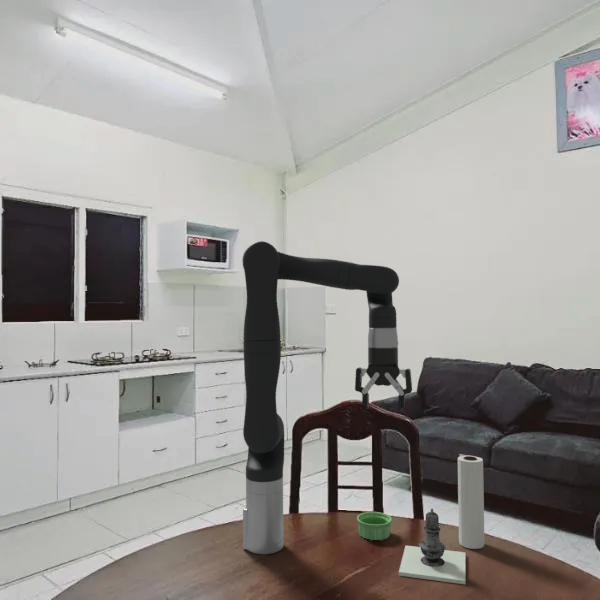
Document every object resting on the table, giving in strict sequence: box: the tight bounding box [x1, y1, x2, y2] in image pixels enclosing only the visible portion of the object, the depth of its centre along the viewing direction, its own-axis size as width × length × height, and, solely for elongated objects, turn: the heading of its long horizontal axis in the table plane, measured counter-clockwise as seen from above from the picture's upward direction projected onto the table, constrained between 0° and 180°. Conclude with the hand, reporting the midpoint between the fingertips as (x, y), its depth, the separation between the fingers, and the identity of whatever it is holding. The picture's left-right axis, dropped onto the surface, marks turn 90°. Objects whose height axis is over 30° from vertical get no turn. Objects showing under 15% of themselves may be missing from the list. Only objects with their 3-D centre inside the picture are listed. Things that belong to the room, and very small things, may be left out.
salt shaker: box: [418, 508, 447, 567], centre depth 123 cm, size 6×6×12 cm
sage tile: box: [398, 545, 466, 585], centre depth 123 cm, size 14×14×1 cm
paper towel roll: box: [457, 453, 485, 550], centre depth 134 cm, size 7×6×21 cm
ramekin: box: [356, 511, 392, 541], centre depth 140 cm, size 9×9×4 cm
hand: (383, 409), depth 137 cm, fingers open, 8 cm apart
